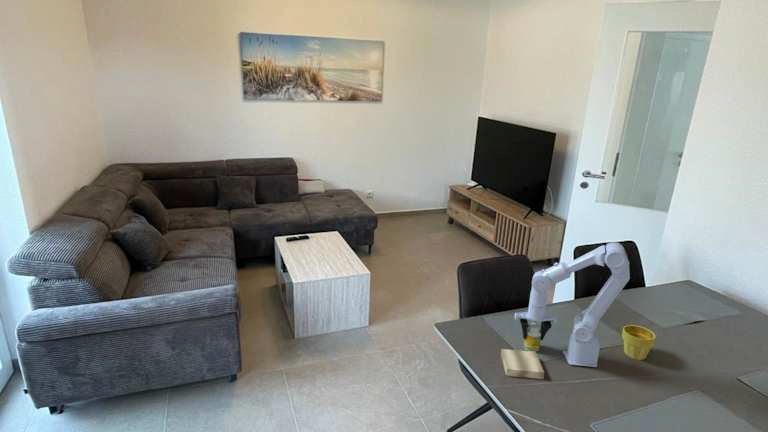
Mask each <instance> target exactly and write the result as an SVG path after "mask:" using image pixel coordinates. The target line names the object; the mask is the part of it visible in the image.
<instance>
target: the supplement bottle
mask: <svg viewBox="0 0 768 432" xmlns="http://www.w3.org/2000/svg"><path fill="white" fill-rule="evenodd" d="M528 325H529V326H528V329H527V335H526V339H524V341H523V348H524V347H525V348H524V349H525V351H527V350H528V351H531V352H536V351H537V352H538V351H539V350H540V344H541V340H540V339H541V332H540V330H541V324H539V323H536V322H529V323H528ZM537 352H536V353H537Z"/></svg>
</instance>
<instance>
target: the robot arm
mask: <svg viewBox="0 0 768 432" xmlns="http://www.w3.org/2000/svg"><path fill="white" fill-rule="evenodd" d="M592 265H597V266H602V267H605V265H606V266H607V267H608V268H609V269H610V272H611V275H610V276H609V278H608V279H607V280H606V282H605V283H604V285H603V286H602V288H601V289H600V290H599V292H597V295H595V297H594V299H593V300H592V301H591V303H590V304H589V306H588V307H587V308H586V309H584V310H583V311H582V312H581V313H580V314H577V315H576V316H574V319H573V330H572V331H571V332H570V336H569V340H568V347H567V350H563V352H562V353H563V355H564V357H565V359H566V361H567V362H568V364H569V365H570V366H578V367H579V366H580V367H582V366H583V367H593V368H597V367H598V359H599V355H600V348H601V347H600V346H601V345H600V342H599V339H598V338H597V337H594V333H595V331H596V329H597V327H598V324H599V321H600V319H601V318H602V317H603V316H604V314H605V313H606V312H607V310H608V309H609V308H610V306H611V305H612V303H613V302H614V301H615V299H617V297H618V296H619V294H620V293H621V291H622V290H623V289H624V288H625V287H626V285H627V283H628V282H629V281H630V279H631V276H630V275H631V273H630V261H629V259H628V254H627V252H626V249H625V248H624V246H623V245H622V244H621V243H620V242H618V241H611V242H608V243H606V245H604V244H602V245H601V246H599V247H597V248H595V249H593V250H591V251H589V252H587V253H585V254H583V255H581V256H579V257H577V258H576V259H573V260H572V261H569V262H568V263H567V262H563V261H562V262H555V263H554V264H553V266H550V267H548V268H546V269H545V268H543V269H541V270H539V271H536V272H535V273H534V274H533V276H532V280H531V290H530V294H529V301H528V302H529V303H528V309H527V311H524V312H515V313H514V321H520V324H521V331H522V337H523V339H524V340H525V339H526V335H527V329H528V326H529V323H528V321H533V322H539V323H540V332H541V339H540V341H544V338H545V337H546V336H545V335H546V334H547V333H548V331H549V330H550V329H551V328H552V325H553V324H557V322H558V317H557V316H556V315H552V314H547V313H546V307H547V301H548V296H549V295H548V291H549V288H550V287H551V286H554V285H555V284H558V283H560V282H562V281H564V280H567V279H570V278H571V277H572V273H574V272H577V271H579V270H582V269H584V268H587V267H589V266H592ZM552 323H553V324H552Z"/></svg>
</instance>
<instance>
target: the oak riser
mask: <svg viewBox="0 0 768 432" xmlns="http://www.w3.org/2000/svg"><path fill="white" fill-rule="evenodd" d="M500 357H501V361H502V365H503V369H504V373H505V376H507V377H514V378H515V377H516V378H527V379H539V380H544V377H545V370H544V368H543V365H542V364H541V360H540V358H539V357H538V354H537V352H531V351H527V350H519V349H517V350H516V349H508V348H507V349H506V348H501V350H500Z"/></svg>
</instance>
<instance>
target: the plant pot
mask: <svg viewBox="0 0 768 432" xmlns="http://www.w3.org/2000/svg"><path fill="white" fill-rule="evenodd" d="M621 337H622V339H623V350H624V354H625V355H626V356H627V357H629V358H631V359H634V360H639V361H644V360H645V359H646V358H647V356H648V354H649V352H650V350H651V348H653V347H654V346H655V343H656V339H657V338H656V333H654V331H652V330H650V329H649V328H647V327H643V326H640V325H636V324H635V325H634V324H630V325H625V326H623V328H622V333H621Z"/></svg>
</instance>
